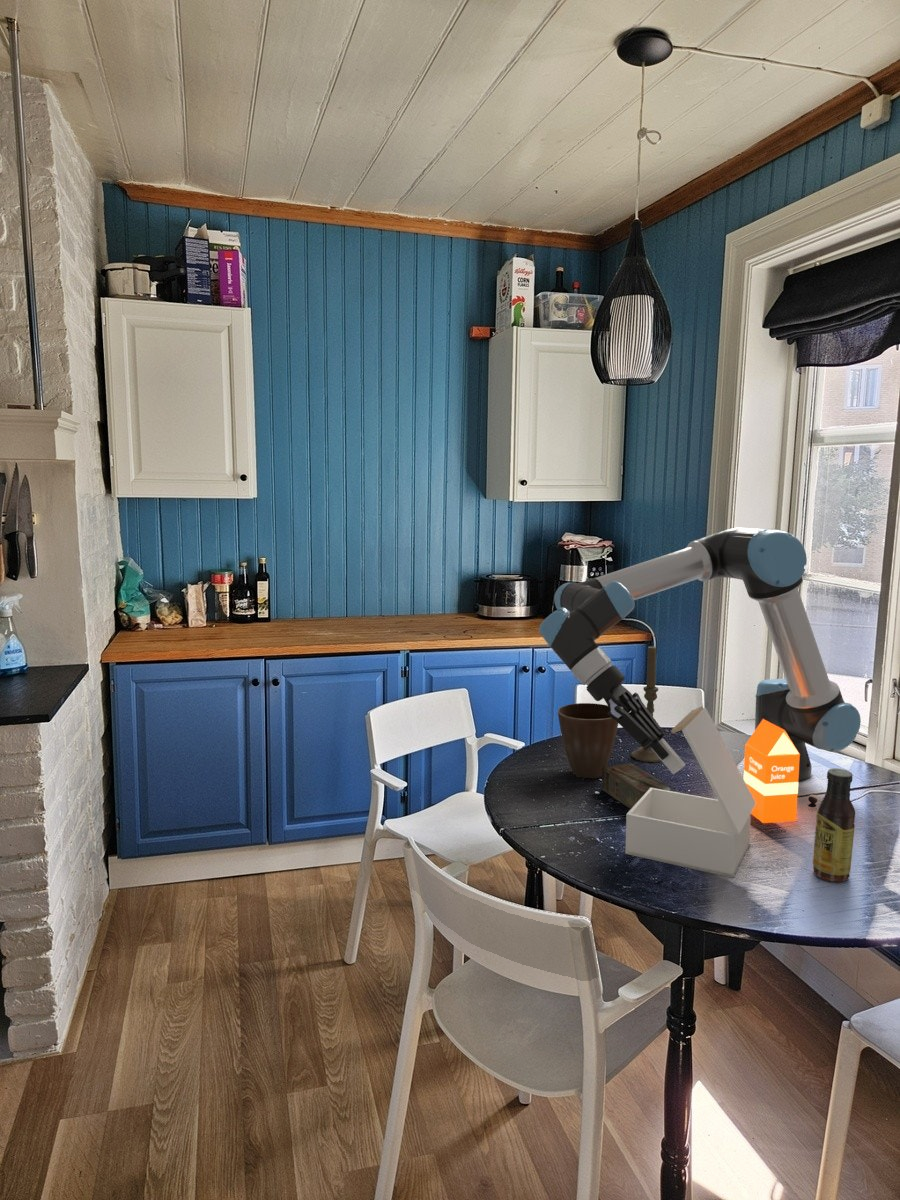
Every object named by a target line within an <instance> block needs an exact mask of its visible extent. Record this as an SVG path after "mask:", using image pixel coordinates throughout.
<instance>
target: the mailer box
mask: <svg viewBox="0 0 900 1200" xmlns="http://www.w3.org/2000/svg"><path fill="white" fill-rule="evenodd" d="M625 815H626V818H625V820H626V821H625V822H626V823H625V852H624V853H625V855H630V856H634V857H638V858H643V859H648V860H652V861H656V862H661V863H666V864H670V865H673V866H678V867H683V868H687V869H692V870H698V871H701V872H705V873H710V874H714V875H719V876H723V877H727V878H732V879H733V878H734V877H735V875H736V874H737V871H738V869H739V867H740V866H741V862H742V861H743V858H744V857H745V854H746V853H747V850H748V849H749V846H750V844H751V843H750V842H751V840H750V838H751V822H752V814H750V815H749V817H748V819H747V821H746V823H745V825H744V827H743V829H742V830H741V832H740V834H738V835H736V833H735V831H734V829H733V828H732V826H731V824H730V822H729V820H728V818H727V816H726V814H725V812H724V810H723V808H722V806H721V805H720V803H719V801H718V799H717V798H712V797H704V796H699V795H692V794H688V793H683V792H679V791H677V792H672V791H667V790H661V789H656V788H650V789H649V790H648V791H647V792H646V793H645V794H644V795H643V796H642V798H641V799H640V800H639V801H638V802H637V803H636V804H635V805H634V806H633V808H632V809H629V810H628V812H627V813H626V814H625Z"/></svg>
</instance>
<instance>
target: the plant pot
mask: <svg viewBox="0 0 900 1200" xmlns="http://www.w3.org/2000/svg"><path fill="white" fill-rule="evenodd" d="M610 711H611V709H610V707H609V706H608V705H607V704H601V703H591V702H589V703H587V702H585V703H584V702H581V703H580V702H579V703H569V704H565V705H563V706H560V707H559V708H558V709H557V714H558V715H557V716H558V722H559V723H558V724H559V730H560V733H561V734H560V735H561V738H562V739H561V740H562V743H563V747H564V750H565V754H566V758H567V760H568V763H569V766H570V770H571V771H572V774H573V773H574V774H575V775H576V777H577V776H578V777H577V778H580V777H582V778H581V779H586V778H590V779H589V780H591V778H592V779H598V778H601V777H602V768H603V767H606V766H608V764H609V761H610V758H611V755H612V752H613V748H614V745H615V743H616V742H615V741H616V736H617V732H618V727H619V723H618V722H617V721H615V720H614V719H612V718H611V717H610V716H609V715H608V712H610ZM574 774H573V775H574ZM575 775H574V776H575Z"/></svg>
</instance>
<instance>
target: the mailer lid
mask: <svg viewBox="0 0 900 1200" xmlns="http://www.w3.org/2000/svg"><path fill="white" fill-rule="evenodd" d="M680 731H682V733H683V735H684V738H685V740H686V741H687V743H688V745H689V747H690V749H691V751H692V753H693V755H694V756H695V759H696V760H697V762H698V764H699V766H700V769H701V770H702V772H703V774H704V776H705V777H706V780H707V781H708V783H709V785H710V788H711V789H712V791H713V793H714V795H715V797H716V799H717V800H718V801H719V803H720V805H721V806H722V808H723V810H724V812H725V814H726V816H727V818H728V820H729V822H730V824H731V826H732V828H733V829H734V831H735V833H736V835H738V834H740V832H741V830H742V829H743V827H744V825H745V823H746V821H747V819H748V817H749V815H750V814H751V812H752V810H753V808H754V806H755V804H756V802H755V800H754V798H753V796H752V794H751V792H750V790H749V789H748V787H747V785H746V783H745V781H744V779H743V775H742V774H741V772H740V770H739V768H738V766H737V763H736V762H735V760H734V758H733V757H732V755H731V753H730V750H729V749H728V747H727V745H726V743H725V741H724V739H723V737H722V736H721V734H720V732H719V730H718V728H717V726H716V725H715V722H714V721H713V719H712V717H711V715H710V713H709V711H708V710H707V707H704V706H703V705H702V706H699V707H696V708H695V709H691V710H690V712H688V714H686V715H685V717H684V718H682V719H681V720H680V721H679V722H678V723H677V724H676V725H675V726H674V727H673V728H672V729H671V730H670V733H671V734H675V733H677V732H680ZM751 815H752V814H751Z"/></svg>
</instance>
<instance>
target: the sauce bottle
mask: <svg viewBox="0 0 900 1200" xmlns="http://www.w3.org/2000/svg"><path fill="white" fill-rule="evenodd" d="M826 779H827V784H826V785H827V786H826V791H825V792H826V793H825V794H824V796H823V798H822V801H821V803H820V805H819V807H818V809H817V811H816V820H815V821H816V822H815V831H814V834H815V835H814V844H813V845H814V846H813V847H814V848H813V857H812V866H813V867H812V868H813V869H812V870H813V873H814V875H816V877H818V878H820V879H823V881H827V882H834V883H842V882H846V881H848V880H849V878H850V873H851V870H852V869H851V867H852V859H853V849H854V848H853V846H854V837H855V836H854V835H855V819H856V810H855V807H854V805H853V803H852V801H851V799H850V797H851V786H852V785H851V784H852V782H853V773H852V772H851V771H849V770H847V769H843V768H834V767H833V768H830V769H828V771H827V773H826Z"/></svg>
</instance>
